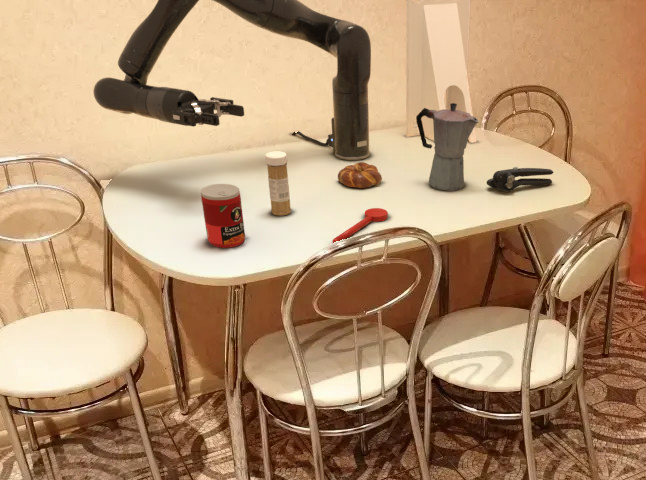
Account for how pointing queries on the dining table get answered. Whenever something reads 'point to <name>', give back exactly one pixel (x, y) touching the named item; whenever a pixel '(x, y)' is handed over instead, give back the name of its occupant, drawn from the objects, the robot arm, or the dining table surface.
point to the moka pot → (448, 145)
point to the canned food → (223, 215)
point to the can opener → (507, 181)
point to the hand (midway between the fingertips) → (230, 116)
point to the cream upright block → (436, 60)
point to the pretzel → (359, 175)
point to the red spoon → (364, 222)
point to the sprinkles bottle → (278, 182)
